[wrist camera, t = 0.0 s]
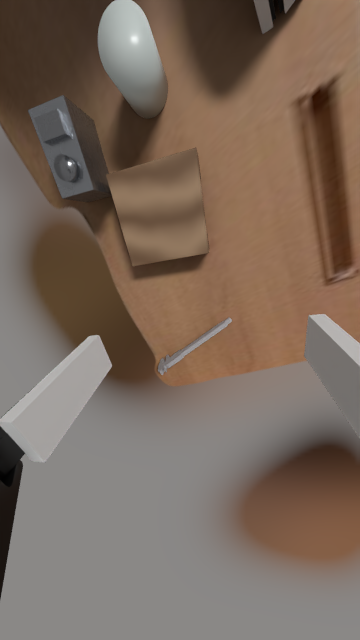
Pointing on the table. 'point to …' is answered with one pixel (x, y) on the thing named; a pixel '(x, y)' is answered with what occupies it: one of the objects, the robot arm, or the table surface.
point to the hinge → (269, 12)
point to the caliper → (191, 347)
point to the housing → (71, 150)
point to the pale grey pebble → (132, 57)
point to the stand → (161, 208)
